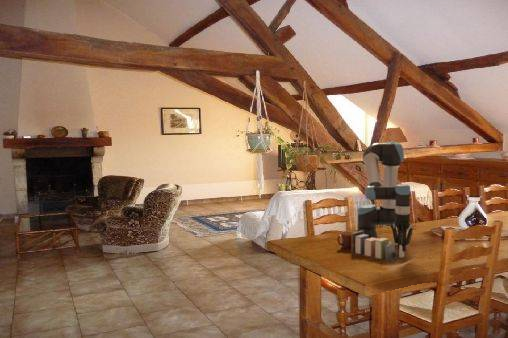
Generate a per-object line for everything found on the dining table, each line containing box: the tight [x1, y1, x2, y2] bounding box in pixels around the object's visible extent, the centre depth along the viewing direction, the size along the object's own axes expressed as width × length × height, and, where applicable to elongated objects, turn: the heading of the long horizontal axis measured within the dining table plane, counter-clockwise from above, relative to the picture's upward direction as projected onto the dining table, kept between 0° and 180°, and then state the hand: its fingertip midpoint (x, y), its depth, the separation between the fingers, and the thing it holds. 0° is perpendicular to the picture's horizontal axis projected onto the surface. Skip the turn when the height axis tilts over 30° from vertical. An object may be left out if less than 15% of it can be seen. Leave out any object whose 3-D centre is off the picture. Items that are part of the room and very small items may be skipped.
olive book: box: [374, 237, 390, 260], centre depth 256 cm, size 4×8×10 cm, turn 134°
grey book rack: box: [350, 231, 401, 262], centre depth 260 cm, size 25×11×13 cm, turn 44°
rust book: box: [364, 237, 379, 258], centre depth 261 cm, size 4×8×9 cm, turn 134°
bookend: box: [385, 242, 400, 262], centre depth 252 cm, size 4×8×8 cm, turn 134°
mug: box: [336, 231, 354, 250], centre depth 277 cm, size 12×9×10 cm
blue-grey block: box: [355, 234, 369, 256], centre depth 266 cm, size 4×8×10 cm, turn 134°
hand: (401, 256), depth 248 cm, fingers closed
